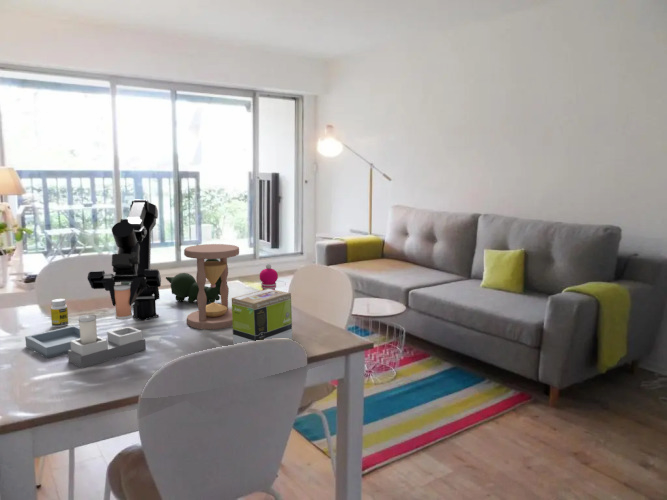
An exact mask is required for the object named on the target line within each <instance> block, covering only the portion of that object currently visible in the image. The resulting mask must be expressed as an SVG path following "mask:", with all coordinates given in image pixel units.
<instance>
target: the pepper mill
mask: <svg viewBox="0 0 667 500" xmlns="http://www.w3.org/2000/svg"><path fill="white" fill-rule="evenodd" d="M278 279H279V276H278V272H277V270H275V269H274V268H272V265H271V264H270V263H267V264H266V265H265V268H264V269H262V270H261V271H260V273H259V281H260V282H261V283H260V284H261V286H260V287H261V290H265V289H272V290H276V288H277V283H276V282H277V281H278Z"/></svg>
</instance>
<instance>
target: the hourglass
mask: <svg viewBox="0 0 667 500" xmlns="http://www.w3.org/2000/svg"><path fill="white" fill-rule="evenodd" d="M183 255H184V257H186V258H191V259H196V277H195V278H196V279H195V280H196V282H197V284H198V287H199V292H198V296H197V300H196V301H197V302H196V303H197V307H198V310H195V311H192V312H191V313H188V315H187V316H186V324H187V325H188V327H190V326H191V328H194V329H198V330H218V329H226V328H231V327H233V321H232V308H229V294H230V293H229V292H230V291H229V290H230V289H229V285H228V281H227V279H228V276H229V266H228V259H229V258H233V257H237V256H239V255H240V247H239V246H237V245H233V244H224V243H212V244H210V243H209V244H197V245H196V244H195V245H190V246H187V247H185V248H184V249H183ZM207 259H217V260H219V261H209V262H205V260H207ZM219 277H221V280H222V283H221V287H220V295H219V296H220V300H221V301H220V303H217V302H213V303H211V302H210V303H209V304H207V303H208V302H207V297H206V294H205V291H204V287H205V286H206V281H208V283H210V286H209V287H216V285H215V283H216V282H217V280H218V279H219Z"/></svg>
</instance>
